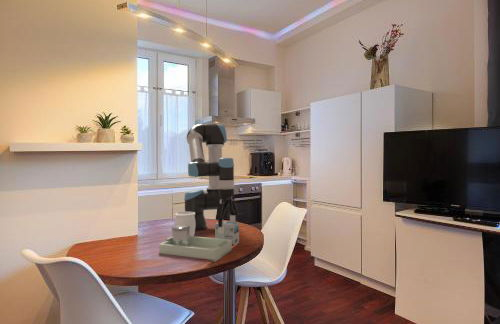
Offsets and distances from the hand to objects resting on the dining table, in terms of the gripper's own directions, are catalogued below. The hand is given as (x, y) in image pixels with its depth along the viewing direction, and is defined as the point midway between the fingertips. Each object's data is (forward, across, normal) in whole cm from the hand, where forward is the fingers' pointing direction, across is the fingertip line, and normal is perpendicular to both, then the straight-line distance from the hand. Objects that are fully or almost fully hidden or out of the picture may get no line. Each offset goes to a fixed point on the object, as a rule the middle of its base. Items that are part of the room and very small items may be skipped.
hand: (227, 230), depth 156 cm
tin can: (+6, +18, -15) cm, 24 cm away
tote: (+7, +18, -7) cm, 21 cm away
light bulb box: (+7, 0, 0) cm, 7 cm away
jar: (+7, +4, -22) cm, 24 cm away
